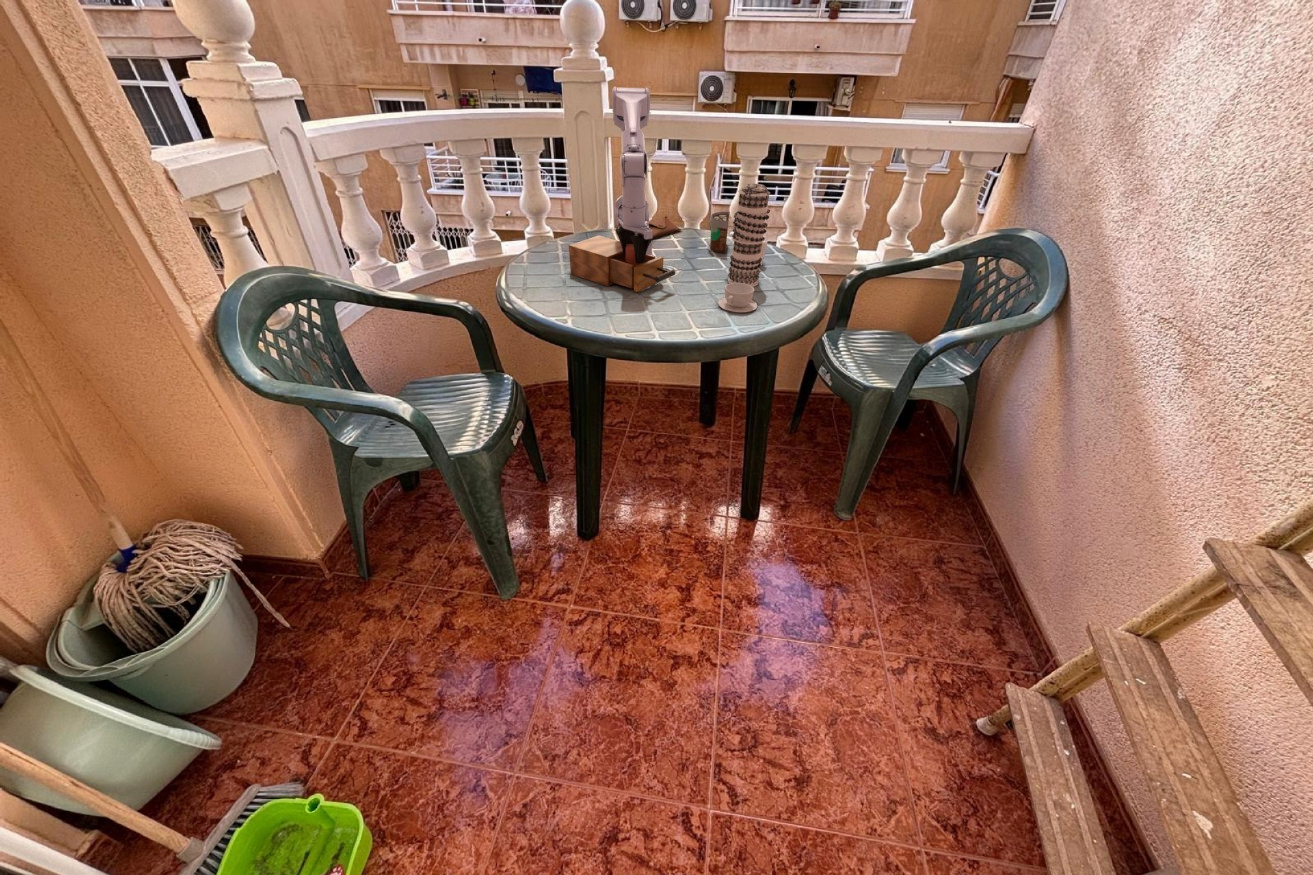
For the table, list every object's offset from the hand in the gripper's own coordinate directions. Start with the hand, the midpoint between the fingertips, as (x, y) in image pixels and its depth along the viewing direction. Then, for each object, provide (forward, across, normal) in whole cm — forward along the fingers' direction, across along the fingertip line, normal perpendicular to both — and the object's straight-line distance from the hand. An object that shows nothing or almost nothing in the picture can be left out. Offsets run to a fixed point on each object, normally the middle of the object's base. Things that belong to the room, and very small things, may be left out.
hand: (633, 259), depth 142 cm
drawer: (+6, -2, -1) cm, 6 cm away
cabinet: (+7, +11, +4) cm, 13 cm away
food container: (+7, +13, -40) cm, 42 cm away
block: (+1, 0, 0) cm, 1 cm away
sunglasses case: (+7, +35, -31) cm, 47 cm away
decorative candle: (+7, -14, -27) cm, 32 cm away
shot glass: (+7, -4, -40) cm, 41 cm away
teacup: (+7, -26, -15) cm, 31 cm away
